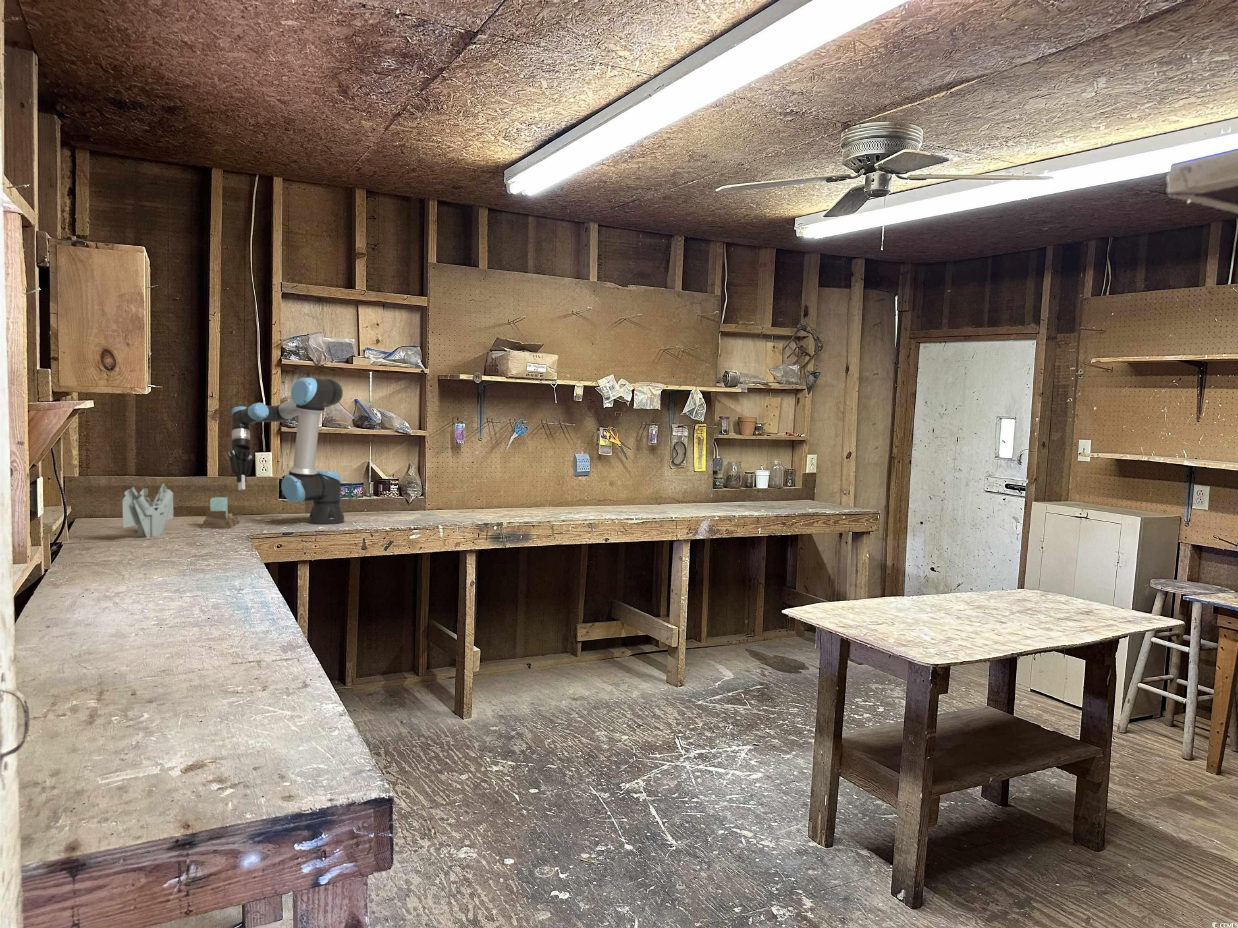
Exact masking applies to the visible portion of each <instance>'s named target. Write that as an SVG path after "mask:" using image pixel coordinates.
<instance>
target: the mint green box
mask: <svg viewBox="0 0 1238 928" xmlns="http://www.w3.org/2000/svg"><path fill="white" fill-rule="evenodd" d="M209 501H210V502H209V503H210V505H209V507H210V510H209V511H226V520H228V514H229V512H228V510H229V509H228V497H227V496H225V497H223V496H222V497H221V496H220V497H212V498H210V500H209Z"/></svg>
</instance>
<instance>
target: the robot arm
mask: <svg viewBox="0 0 1238 928" xmlns="http://www.w3.org/2000/svg"><path fill="white" fill-rule="evenodd" d="M343 393H344V392H343V387H342V385H340V383H339V382H337V381H336V380H334V379H332V378H322V377H321V378H320V377H300V378H298V379H297V380H296V381H295V382H294V383H293V385H292V388H291V391H290V398H292V399H290V400H288V401H285V402H282V403H280V404H276V405H266V404H264V403H263V402H256V403H253V404H250V406H242V405H240V406H235V407H233V408H232V410H231V415H230V416H231V417H230V418H231V448H232V449H231V451H228V452H227V453H226V455H227V457H228V458H229V462H230V466H231V471H232V472H231V473H232V474H234V476H235V477H236V482H237V490H238V491H244V490H246V483H247V476H250V475H251V473H252V467H253V463H254V460H255V459H256V457H255V456H252V454H251V451H250V448H251V441H250V440H251V430H250V429H251V425H254V424H255V423H285V422H289V421H291V420H292V419H293V418H294V417H297V416H298V419H297V421H298V422H297V430H296V439H295V445H294V458H293V466H292V467H290V468H289V469H288V475H286V476H284V478H282V480H281V485H280V486H281V492H282V494H283V495H284V497H285V498H286V499H287V501H290V502H292V503H303V502H311V501H312V507H311V511H310V513H309V516H308V523H309V522H310V523H309V524H313V523H314V524H317V525H331V524H332V525H333V524H334V525H335V524H341V523H344V522H345V514H344V512H343V509H342V506H341V483H342V481H341V475H340V473H339V472H336V471H328V470H327V471H326V470H317V469H315V464H316V456H317V448H318V439H319V438H318V437H319V429H320V419H321V415H322V414H323V413H324V412H325V408H329V407H332V406H334V405H337V404H338V403H340V402H341V400H342V398H343V397H344V396H343ZM314 524H313V525H314Z"/></svg>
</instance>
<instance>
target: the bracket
mask: <svg viewBox="0 0 1238 928" xmlns="http://www.w3.org/2000/svg"><path fill="white" fill-rule="evenodd" d="M148 489H149V488H146V487H145V488H142V489H141V491H140V492H139V493H138V492H137V490H136V489H135V487H134V486H133V487H132V488H128V489H126V491H124V495H125V496H124V497H123V499H122V503H121V505H122V528H123V529H124V528H129V527H133V526H134V527H136V526H137V537H140V536H145V538H146V537H147V538H154V537H153V536H155V537H159V535H160V534H163V533H164V531H165V526H166V524H167V521H169V520H173V519H174V492H173V491H171V489H170V488H169V489H168V488H167V485H165V483H162V485H161V487H160V489H159V491H158V493H157V495H156V496H155V498H154V499H153V502H151V499H150V498H149V497H146V496H147V495H148V494H149V491H148ZM150 536H151V537H150ZM160 536H161V535H160Z"/></svg>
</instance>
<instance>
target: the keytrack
mask: <svg viewBox="0 0 1238 928" xmlns="http://www.w3.org/2000/svg"><path fill="white" fill-rule="evenodd" d="M239 524H240V520H239V516H237V515H235V516H233V513H229V512H228V520H226V511H210V510H208V511H206V513H205V520H203V523H202V525H201V529H202V528H211V529H232V528H234V527H235V526H238V525H239ZM233 526H234V527H233Z"/></svg>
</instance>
